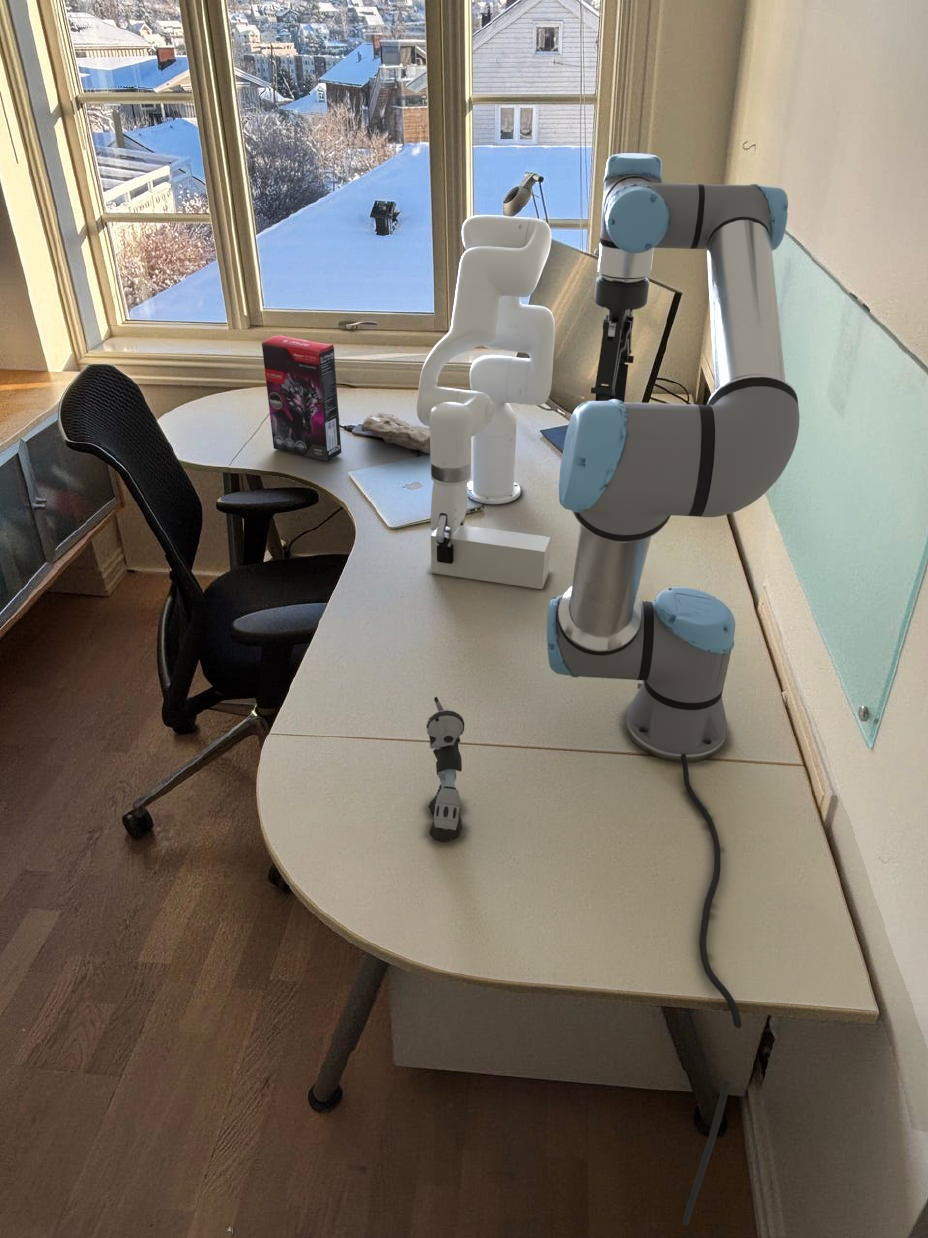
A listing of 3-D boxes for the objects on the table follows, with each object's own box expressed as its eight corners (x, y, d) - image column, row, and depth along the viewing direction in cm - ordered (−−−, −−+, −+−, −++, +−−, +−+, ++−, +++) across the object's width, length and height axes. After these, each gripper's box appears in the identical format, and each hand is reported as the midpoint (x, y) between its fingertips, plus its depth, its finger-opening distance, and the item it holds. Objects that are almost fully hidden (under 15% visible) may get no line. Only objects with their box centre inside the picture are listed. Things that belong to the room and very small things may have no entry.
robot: (467, 874, 119) (468, 759, 108) (429, 876, 119) (427, 760, 108) (460, 769, 135) (460, 659, 124) (426, 770, 135) (424, 660, 124)
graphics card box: (271, 449, 231) (258, 341, 215) (288, 440, 236) (276, 333, 220) (327, 463, 224) (318, 352, 209) (343, 453, 229) (336, 344, 214)
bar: (548, 574, 182) (550, 536, 177) (542, 589, 177) (544, 551, 172) (439, 558, 187) (439, 521, 182) (431, 572, 182) (430, 535, 177)
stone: (345, 437, 230) (349, 413, 227) (367, 428, 243) (371, 405, 241) (423, 461, 226) (429, 437, 224) (441, 451, 239) (446, 428, 237)
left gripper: (444, 449, 180) (444, 530, 189) (417, 486, 166) (419, 571, 176) (481, 453, 178) (480, 534, 188) (457, 491, 164) (457, 577, 174)
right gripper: (610, 255, 141) (597, 390, 153) (581, 295, 121) (569, 446, 133) (659, 259, 139) (643, 395, 151) (638, 299, 119) (621, 452, 131)
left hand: (450, 552), depth 182 cm, fingers open, 7 cm apart
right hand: (608, 419), depth 142 cm, fingers open, 13 cm apart
